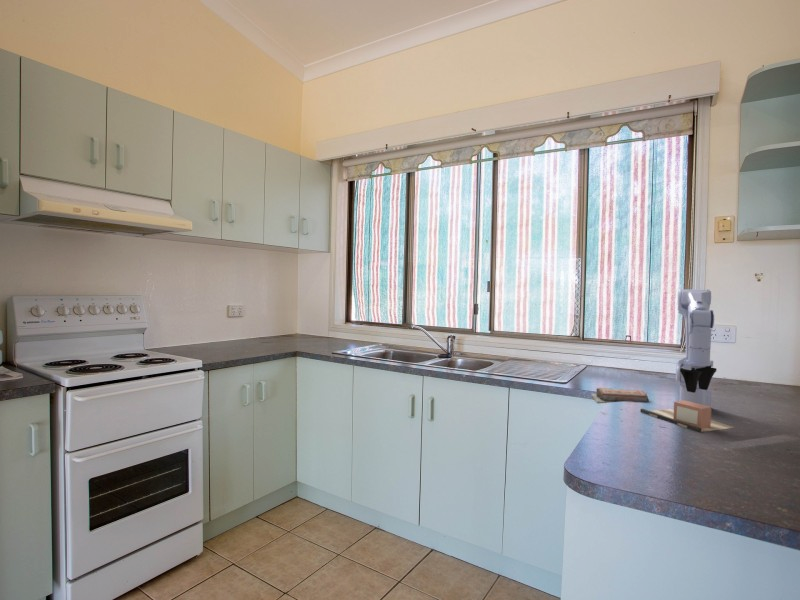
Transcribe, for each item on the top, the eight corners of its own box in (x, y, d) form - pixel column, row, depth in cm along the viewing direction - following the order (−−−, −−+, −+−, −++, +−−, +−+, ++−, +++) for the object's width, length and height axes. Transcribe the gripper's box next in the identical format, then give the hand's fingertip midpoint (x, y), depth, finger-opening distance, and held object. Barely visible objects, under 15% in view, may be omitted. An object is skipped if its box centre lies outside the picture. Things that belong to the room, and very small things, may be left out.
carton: (683, 419, 138) (683, 400, 138) (710, 426, 131) (711, 407, 130) (672, 421, 135) (673, 401, 135) (700, 429, 128) (701, 408, 128)
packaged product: (642, 388, 165) (651, 395, 156) (641, 401, 166) (650, 408, 156) (591, 385, 169) (597, 391, 160) (591, 397, 169) (596, 404, 160)
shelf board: (673, 412, 149) (674, 405, 149) (734, 432, 131) (735, 424, 130) (639, 416, 145) (639, 408, 144) (697, 437, 126) (698, 428, 126)
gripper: (697, 345, 145) (695, 385, 146) (673, 347, 138) (671, 390, 138) (721, 348, 139) (719, 390, 139) (698, 350, 132) (696, 395, 132)
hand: (697, 390), depth 138 cm, fingers open, 7 cm apart
